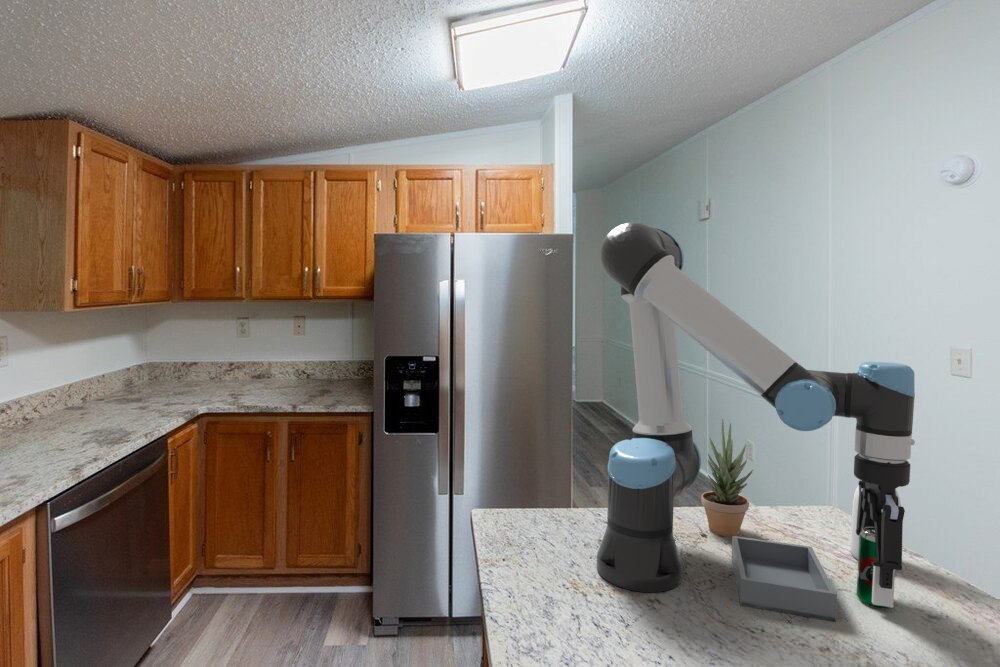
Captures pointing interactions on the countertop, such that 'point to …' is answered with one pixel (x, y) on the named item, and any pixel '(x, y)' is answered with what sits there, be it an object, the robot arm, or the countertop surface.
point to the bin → (782, 578)
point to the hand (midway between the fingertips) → (874, 593)
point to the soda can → (866, 566)
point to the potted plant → (726, 490)
